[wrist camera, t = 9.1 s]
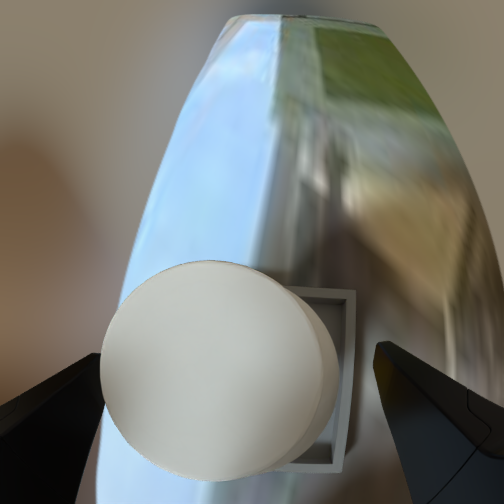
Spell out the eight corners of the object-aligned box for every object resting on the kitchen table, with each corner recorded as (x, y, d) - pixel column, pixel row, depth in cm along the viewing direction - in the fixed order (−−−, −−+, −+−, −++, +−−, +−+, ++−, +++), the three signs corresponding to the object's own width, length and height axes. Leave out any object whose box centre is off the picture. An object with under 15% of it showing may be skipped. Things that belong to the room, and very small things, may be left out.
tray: (335, 465, 14) (341, 472, 13) (160, 443, 16) (150, 448, 14) (349, 298, 19) (356, 289, 17) (184, 285, 20) (176, 276, 19)
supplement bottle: (332, 374, 16) (437, 347, 5) (259, 452, 15) (217, 568, 3) (251, 306, 19) (205, 173, 7) (180, 380, 17) (28, 355, 6)
